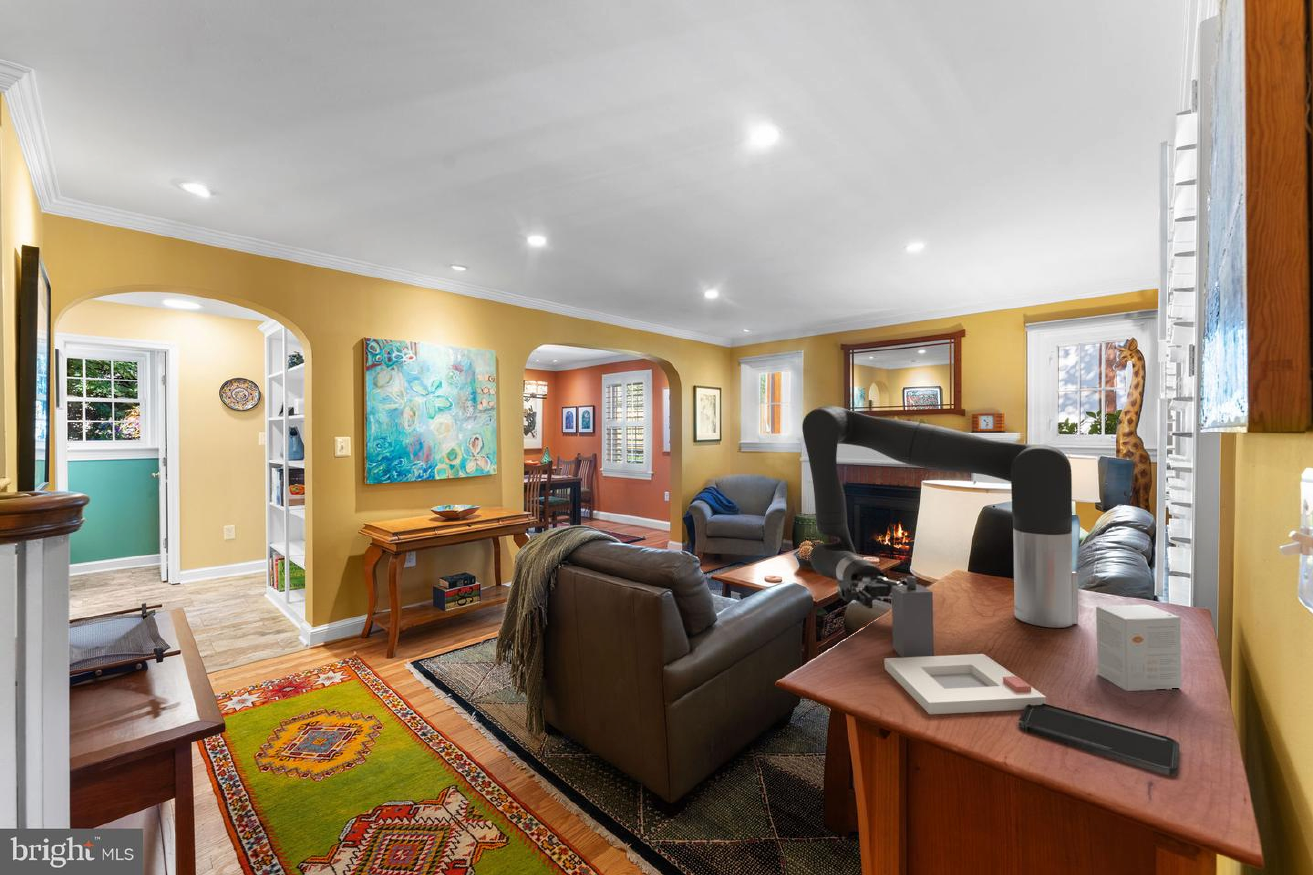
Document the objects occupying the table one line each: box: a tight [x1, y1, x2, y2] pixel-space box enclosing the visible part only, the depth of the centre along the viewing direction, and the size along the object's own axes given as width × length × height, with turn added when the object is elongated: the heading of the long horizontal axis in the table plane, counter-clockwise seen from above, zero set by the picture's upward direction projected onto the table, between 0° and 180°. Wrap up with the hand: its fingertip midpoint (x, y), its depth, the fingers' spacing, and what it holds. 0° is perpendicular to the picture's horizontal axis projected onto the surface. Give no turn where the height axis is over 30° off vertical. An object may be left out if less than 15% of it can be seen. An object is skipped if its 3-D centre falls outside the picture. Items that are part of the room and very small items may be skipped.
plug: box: [891, 575, 935, 658], centre depth 95 cm, size 5×4×13 cm
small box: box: [1095, 604, 1182, 692], centre depth 82 cm, size 8×6×10 cm
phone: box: [1018, 703, 1180, 777], centre depth 69 cm, size 8×1×15 cm
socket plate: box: [883, 653, 1047, 715], centre depth 83 cm, size 16×14×2 cm
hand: (894, 602), depth 101 cm, fingers open, 8 cm apart
